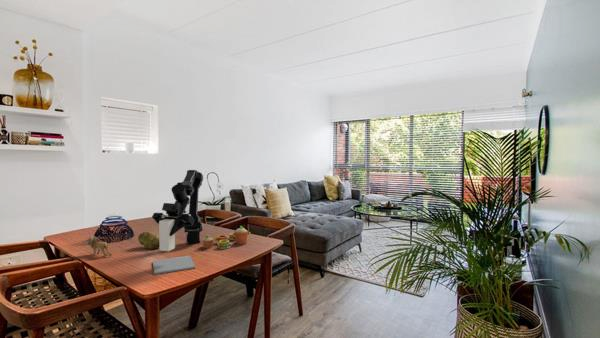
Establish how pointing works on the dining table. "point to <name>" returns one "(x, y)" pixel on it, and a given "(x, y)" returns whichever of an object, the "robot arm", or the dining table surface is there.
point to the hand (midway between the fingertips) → (165, 235)
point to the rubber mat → (173, 264)
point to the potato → (149, 240)
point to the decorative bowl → (99, 233)
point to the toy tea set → (223, 241)
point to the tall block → (166, 235)
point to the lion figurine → (98, 245)
